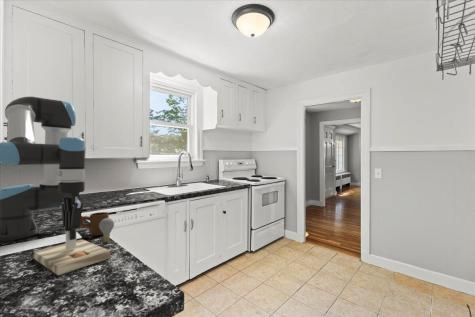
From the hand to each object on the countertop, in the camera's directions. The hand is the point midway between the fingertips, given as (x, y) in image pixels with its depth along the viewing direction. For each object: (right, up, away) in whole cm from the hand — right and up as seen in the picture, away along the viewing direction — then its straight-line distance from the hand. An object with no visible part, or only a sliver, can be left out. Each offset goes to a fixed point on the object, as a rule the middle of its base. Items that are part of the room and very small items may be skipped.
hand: (70, 248), depth 80 cm
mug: (-8, -4, +26) cm, 28 cm away
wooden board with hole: (+1, -3, -1) cm, 3 cm away
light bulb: (+4, -4, +15) cm, 16 cm away
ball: (+6, -1, -5) cm, 8 cm away
